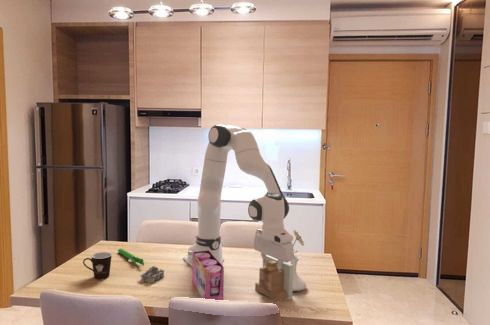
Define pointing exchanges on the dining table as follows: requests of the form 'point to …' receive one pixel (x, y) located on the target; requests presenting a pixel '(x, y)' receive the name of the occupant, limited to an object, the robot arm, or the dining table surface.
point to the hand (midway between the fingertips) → (271, 266)
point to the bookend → (287, 282)
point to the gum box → (208, 275)
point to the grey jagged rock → (150, 277)
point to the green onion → (131, 257)
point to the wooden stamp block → (271, 277)
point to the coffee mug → (100, 264)
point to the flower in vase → (297, 281)
